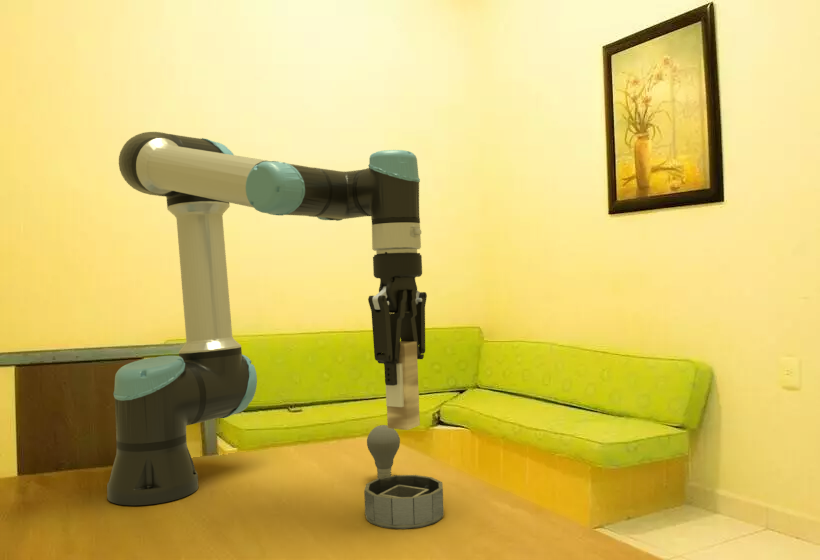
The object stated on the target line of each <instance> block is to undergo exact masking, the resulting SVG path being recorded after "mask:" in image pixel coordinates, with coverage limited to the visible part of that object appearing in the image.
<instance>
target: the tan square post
mask: <svg viewBox="0 0 820 560" xmlns="http://www.w3.org/2000/svg"><path fill="white" fill-rule="evenodd" d="M398 363H402V365H403V392H404V407H392V406H386V414H387V415H386V418H387V419H386V420H387V422H386V423H387V426H388V428H393V429H394V430H405V431H408V430H411V429H413V428H416V427H418V426H420V425H421V423H420V422H421V421H420V394H419V392H420V391H419V368H418V367H419V366H418V365H419V363H418V359H417V342H409V341H401V340H400V353H399V362H398Z"/></svg>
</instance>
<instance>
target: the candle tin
mask: <svg viewBox="0 0 820 560" xmlns="http://www.w3.org/2000/svg"><path fill="white" fill-rule="evenodd" d="M443 487H444V486H443V481H441V480H438V479H436V478H434V477H431V476H425V475H418V474H399V475H397V474H396V475H391V476H389V477H383V478H376V479H374V480H371V481H370V482H367V483H366V484H365V486H364V492H363V493H364V516H365V518H366V521H368V522H369V523H370V524H372V525H374V526H377V527H380V528H384V529H392V530H409V529H410V530H411V529H419V528H423V527H428V526H431V525H435V524H436V523H437V522H440V521H441V520H442V519H443V517H444V488H443Z"/></svg>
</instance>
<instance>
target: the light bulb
mask: <svg viewBox="0 0 820 560" xmlns="http://www.w3.org/2000/svg"><path fill="white" fill-rule="evenodd" d="M366 446H367V449H368V451H369V453H370V455H371V456H372V458H373V460H374V465H375V467H376V474H377V476H376V477H377V478H376V479H378V478H383V477H389V476H392V468H393V465H394V459H395V457H396V455H397V452H398V450H400V446H401V439H400V436H399V433H398V432H397V430H396V429H393V428H388V424H387V425H386V424H381V425H377V426H375V427H374V428H373V429H371V430H370V432H369V433H368V435H367V439H366Z"/></svg>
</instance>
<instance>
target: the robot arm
mask: <svg viewBox="0 0 820 560" xmlns="http://www.w3.org/2000/svg"><path fill="white" fill-rule="evenodd" d="M368 162H369V164H368V168H363V169H358V170H350V171H349V170H348V171H340V170H334V169H327V168H320V167H313V166H312V167H311V166H307V165H306V166H304V165H298V164H293V163H292V164H291V163H287V162H282V161H278V160H277V161H276V160H272V161H270V160H267V159H261V158H254V157H249V156H240V155H235V154H234V153H233V152H232V150H231V149H230V148H228V146H226V145H225V144H223V143H220V142H219V141H218V142H217V141H215V140H214V141H213V140H211V139H208V138H204V137H201V138H198V137H191V136H185V135H178V134H171V133H166V132H160V131H146V132H141V133H138V134H136V135H134V136H132V137H131V138H129V139H128V140H126V142H125V143H124V144H123V146H122V148H121V150H120V152H119V155H118V167H119V171H120V172H119V173H120V175H121V176H122V178H123V180H124V181H125V182H126V184H127V185H129V187H131V188H132V189H134V190H136V191H138V192H140V193H141V194H142V193H143V194H147V195H149V196H155V197H156V196H158V197H165V198H166V207H167V208H166V209H167V211H168V212H170V213H171V214H172V215H173V216H174V217H175V219H176V229H177V240H178V241H177V242H178V253H179V254H178V255H179V267H180V268H179V269H180V276H181V277H180V279H181V281H180V282H181V290H182V293H181V294H182V305H183V306H182V307H183V317H184V327H185V328H184V330H185V343H184V345H183V346H182V347H181V349H179V351H178V355H160V356H156V357H147V358H144V359H139V360H135V361H132V362H129V363H126V364H125V365H123V366H121V367H120V368H119V369H118V370H117V371H116V373H115V376H114V388H113V389H114V391H113V397H114V409H115V410H114V411H115V413H114V414H115V434H116V435H115V438H116V440H115V441H116V453H115V454H116V455H115V458H114V460H113V465H112V469H111V471H110V472H111V473H110V476H109V481H108V482H107V487H106V492H107V493H106V495H107V497H106V498H107V500H108V502H110V503H113V504H116V505H121V506H122V505H123V506H147V505H148V506H149V505H155V504H156V505H157V504H163V503H168V502H172V501H176V500H179V499H182V498H185V497H187V496H190V495H192V494H193V493H195V492H196V491H198V489H199V475H198V472H197V470H196V468H195V464H194V461H193V458H192V456H191V453H190V450H189V448H188V445H187V443H188V442H187V426H190V425H195V424H199V423H204V422H207V421H212V420H216V419H225V418H229V417H230V416H232V415H236V414H239V413H241V412H243V411H244V410H246V409H247V408H248V406H249V404H251V402H252V401H253V400H254V397H255V394H256V392H257V385H258V384H257V383H258V377H257V371H256V367H255V365H254V364H252V360H251V359H250V358H249V357H248V356H246V355H244V354H243V353H242V344H240V343H239V342H238V341H236V339H234V336H233V327H232V319H231V317H232V316H231V304H230V294H229V293H230V292H229V291H230V290H229V280H228V279H229V278H228V266H227V257H226V256H227V255H226V243H225V230H224V229H225V228H224V219H223V215H224V213H225V212H227V210H228V209H229V208H230V207H231V206H230V204H235V205H240V206H245V207H248V208H254V210H256V212H257V211H258V212H260V213H263V214H268V215H273V216H299V217H300V216H301V217H302V216H303V217H313V218H318V220H322V221H336V222H337V221H342V220H346V219H347V220H348V219H355V218H361V217H362V218H363V217H371V248H372V249H371V250H373V251H375V252H376V253H375V254H374V255H373V256H372V268H373V276H374V278H375V279H379V288H378V293H377V294H376V295H369V296H368V298H367V300H368V304H369V305H368V306H369V308H370V311H371V324H372V339H373V353H374V360H375V361H376V362H377V363H378V364H381V365H382V364H383V366H384V367H383V368H384V383H385V402H386V405H385V406H386V407H387V406H392V407H404V392H403V365H402V363H398V362H399V353H400V341H409V342H417V360H423V359H424V357H425V353H426V303H427V297H428V296H427V293H426V292H425V291H421V292H420V291H419V290H418V286H417V282H416V278H419V277H421V276H422V275H423V264H422V263H423V261H422V258H423V257H422V254H421V253H420V252H418V250H421V248H422V245H421V244H422V242H421V241H422V239H421V238H422V237H421V234H422V229H421V217H420V182H421V179H420V177H419V167H418V158H417V156H416V154H415V153H413V152H411V151H409V150H403V149H387V150H379V151H375V152H372V153H371V155H370V156H369V161H368Z"/></svg>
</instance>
